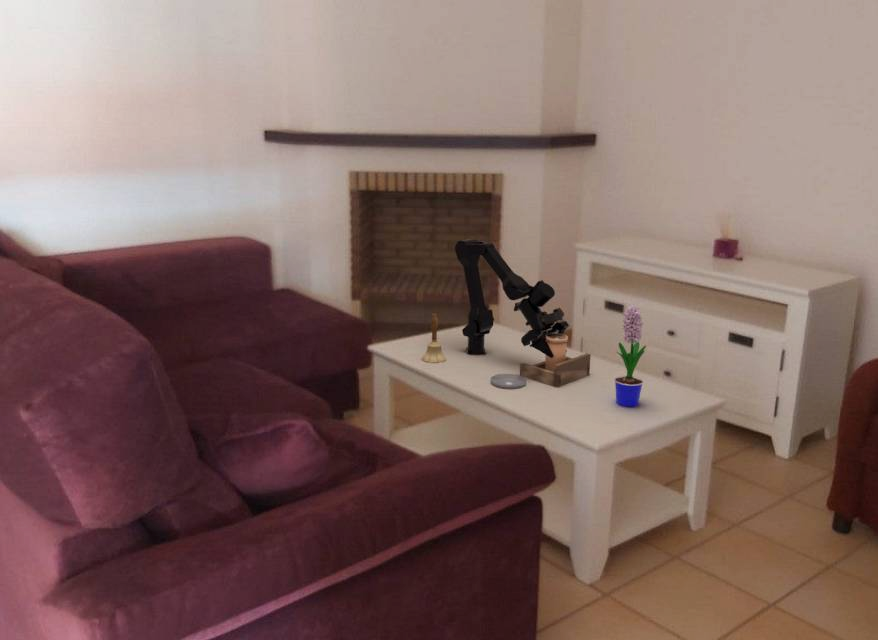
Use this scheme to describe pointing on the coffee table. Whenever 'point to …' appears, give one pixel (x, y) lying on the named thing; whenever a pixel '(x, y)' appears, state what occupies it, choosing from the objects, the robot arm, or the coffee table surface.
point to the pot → (556, 350)
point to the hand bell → (434, 345)
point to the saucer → (508, 381)
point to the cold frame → (558, 371)
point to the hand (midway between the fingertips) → (559, 355)
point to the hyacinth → (630, 360)
